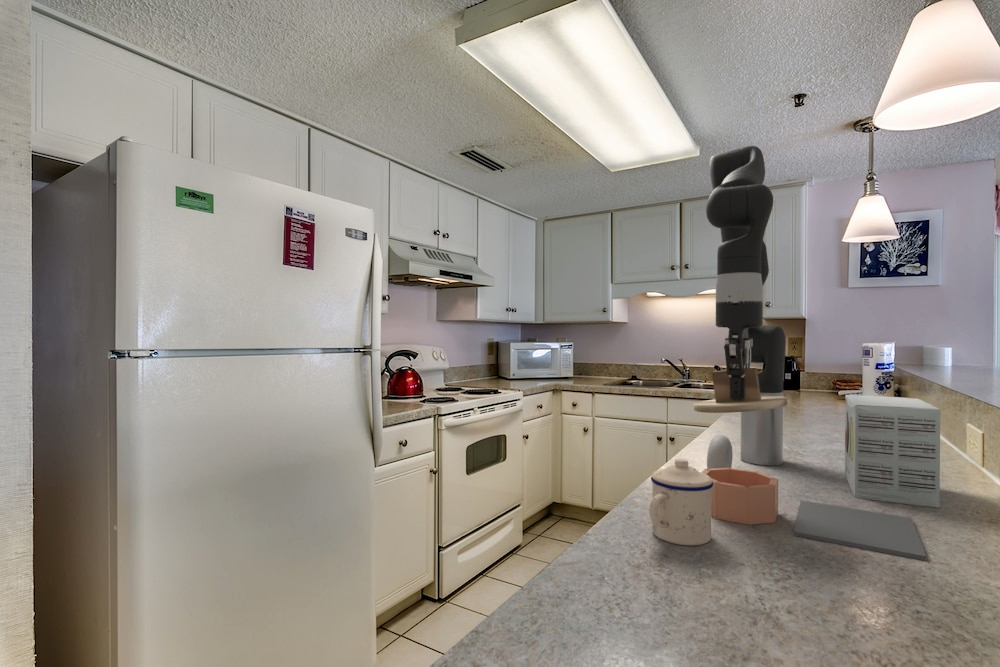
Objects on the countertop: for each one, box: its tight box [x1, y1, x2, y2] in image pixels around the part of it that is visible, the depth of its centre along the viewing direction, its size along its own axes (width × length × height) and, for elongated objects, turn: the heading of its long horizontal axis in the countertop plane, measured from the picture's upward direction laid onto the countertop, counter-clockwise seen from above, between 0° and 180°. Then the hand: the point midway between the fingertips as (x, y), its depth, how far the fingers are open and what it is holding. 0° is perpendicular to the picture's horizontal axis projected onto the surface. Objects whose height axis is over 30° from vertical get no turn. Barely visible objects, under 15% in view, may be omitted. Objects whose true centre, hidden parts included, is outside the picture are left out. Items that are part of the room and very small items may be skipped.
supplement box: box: [844, 394, 941, 509], centre depth 103 cm, size 17×13×18 cm
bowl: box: [700, 467, 779, 526], centre depth 91 cm, size 12×12×6 cm
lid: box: [692, 367, 788, 414], centre depth 91 cm, size 15×15×6 cm
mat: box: [792, 499, 927, 561], centre depth 83 cm, size 18×16×1 cm
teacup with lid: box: [649, 458, 713, 546], centre depth 79 cm, size 12×9×12 cm
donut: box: [706, 434, 734, 469], centre depth 108 cm, size 10×4×10 cm, turn 143°
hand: (738, 398), depth 91 cm, fingers closed on lid
